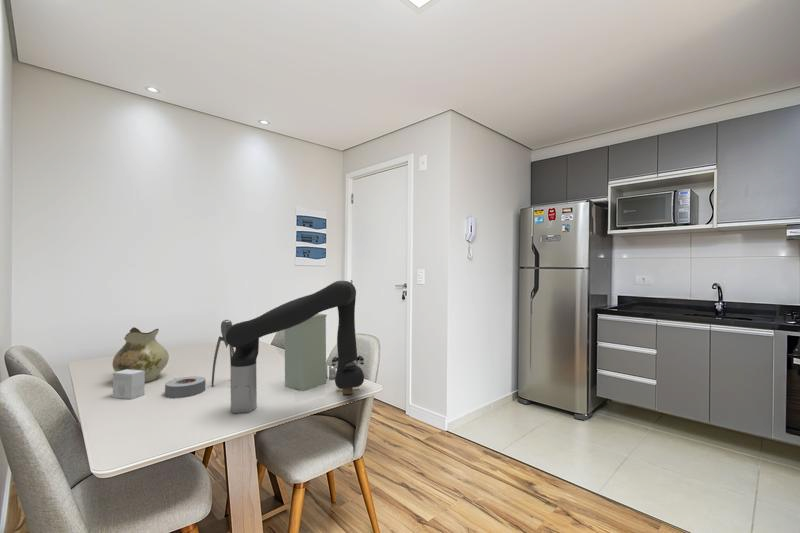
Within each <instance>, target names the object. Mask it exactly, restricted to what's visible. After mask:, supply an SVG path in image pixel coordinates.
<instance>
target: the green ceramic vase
mask: <svg viewBox="0 0 800 533" xmlns="http://www.w3.org/2000/svg"><path fill="white" fill-rule="evenodd" d="M159 331H160V329H159V328H156V329H153V330H152V331H149V332H142V331H141V330H140V329H139V328H137V327H131V328H130V329H129V332H128V333H127V334H125V336H124V340H125V344H124V345H123V346H122V347H121V348H120V349H119V350H118V351H117V352H116V353H115V354H114V357H113V359H112V369H113V370H114V372H117V371H122V370H126V369H129V370H141V371H145V383H149V382H153V381H154V380H156V379H157V378H158V375H159V374H160V373H161V372H162V371H163V370H164V369H165V368H166V366H167V365H168V362H169V357H170V356H169V352H168V350H167V349H166V348H165V347H164V346H163V345H162V344H161V343H160V342H158V341H157V339H156V336H157V335H158V333H159Z"/></svg>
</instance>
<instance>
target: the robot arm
mask: <svg viewBox="0 0 800 533" xmlns="http://www.w3.org/2000/svg"><path fill="white" fill-rule="evenodd" d="M356 297H357V289H356V287H355V285H354V284H353V283H352V282H350V281H348V280H337V281H334V282H332V283H331V284H329V285H327V286H325V287H323V288H322V289H320V290H318V291H316V292H313V293H311V294H308V295H304V296H302V297H298V298H295V299H292V300H290V301H288V302H285V303H283V304H282V303H281V305H279V306H276V307H274V308H272V309H270V310H268V311H266V312H265V313H263V314H261V315H259V316H257V317H255V318H252V319H248V320H246V321H244V320H243V321H241V322H236V323H234V324H232V326H231V327H230V328H229V329H228V331H227V333H226V341H227V343H228V346H229V345H230V346H232V347H234V348H235V349H234V354H233V356H232V357H231V360H229V362H230V365H229V366H230V411H231V413H232V414H240V413H250V412H251V411H253V410H255V409H257V407H258V404H257V403H258V398H257V397H258V396H257V395H258V394H257V393H258V392H257V386H258V385H257V358H258V355H259V351H260V350H259V349H260V348H259V347H260V339H261V338H263V337H265V336H267V335H270V334H271V335H272V334H275V333H279V332H282V331H285V329H288V328H291V327H293V326H296V325H298V324H300V323H302V322H304V321H306V320H308V319H310V318H311V317H313V316H314V315H316V314H320V313H322V312H324V311H326V310H329V309H333V308H337V313H338V324H337V325H338V326H337V334H336V344H337V345H336V346H337V356H334V357H333V358H332V359H331V366H336V376H335V379H334V383H335V386H337V387H338V388H339V389H345V388H353V387H359V388H360V387H361V386H362V385H363V383H364V381H365V374H364V371H363V370H362V368H361V367H360V366H359V365H364V364H365V363H364V362H365V361H364V360H365V358H364V357H363V356H362V355H358V352H357V351H358V347H357V339H356V338H357V336H356V320H355V318H356V317H355V316H356V315H355V314H356V312H355V311H356V310H355V308H356ZM358 364H359V365H358Z"/></svg>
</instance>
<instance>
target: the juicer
mask: <svg viewBox="0 0 800 533" xmlns="http://www.w3.org/2000/svg"><path fill="white" fill-rule="evenodd" d="M220 324H221V325H220V332H221V336H219V337H218V339H217V344H216V346H215V351H214V356H213V364H212V372H211V387H212V388H213V387H214V383H215V382H214V381H215V374H216V373H215V372H216V365H217V364H216V363H217V359H218V358H217V357H218V353H219V349H220V345H221V341H222V342H223V343H224V344H225V348H226V349H227V348H228V346H229V358H230V360H231V357H232V356H233V354H234V352H235V349H234V348H235V347H232V346H230V345H229V344H228V343H227V341H226V333H227V331H228V329H229V328H230V327H231V326H232V325H233V323H232V321H231V320H230V319H224V320H222V321H221V323H220ZM230 360H229V361H230Z"/></svg>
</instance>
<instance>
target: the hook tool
mask: <svg viewBox="0 0 800 533" xmlns="http://www.w3.org/2000/svg"><path fill="white" fill-rule="evenodd" d="M342 395H353V390H352V388H345V389H343V391H342Z"/></svg>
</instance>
